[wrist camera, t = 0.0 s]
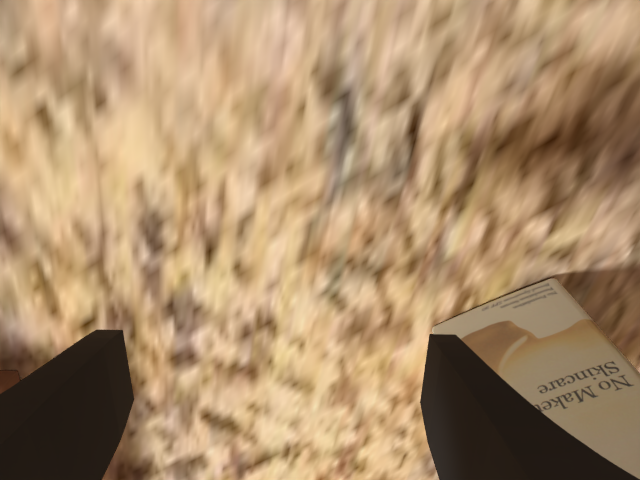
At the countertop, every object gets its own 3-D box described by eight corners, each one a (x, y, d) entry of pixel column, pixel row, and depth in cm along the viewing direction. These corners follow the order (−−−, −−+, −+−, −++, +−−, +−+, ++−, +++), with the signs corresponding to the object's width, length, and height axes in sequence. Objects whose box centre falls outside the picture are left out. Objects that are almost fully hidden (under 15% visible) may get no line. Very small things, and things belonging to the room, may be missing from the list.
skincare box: (553, 272, 22) (800, 525, 11) (579, 342, 24) (817, 626, 12) (422, 327, 23) (523, 609, 12) (455, 391, 25) (571, 693, 14)
